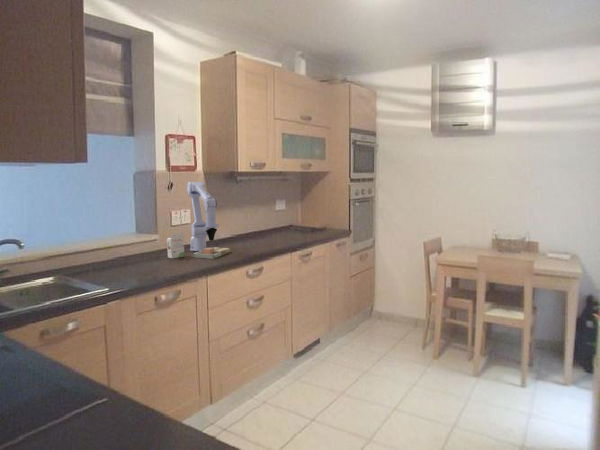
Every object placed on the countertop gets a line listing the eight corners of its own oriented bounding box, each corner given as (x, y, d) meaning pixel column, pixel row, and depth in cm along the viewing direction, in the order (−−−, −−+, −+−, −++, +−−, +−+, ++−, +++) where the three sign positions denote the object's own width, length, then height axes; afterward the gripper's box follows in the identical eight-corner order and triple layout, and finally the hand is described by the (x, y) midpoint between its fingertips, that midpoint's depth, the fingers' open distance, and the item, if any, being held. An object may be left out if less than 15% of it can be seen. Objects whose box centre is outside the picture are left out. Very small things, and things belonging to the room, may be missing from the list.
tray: (192, 257, 264) (192, 253, 263) (201, 254, 273) (201, 250, 272) (213, 258, 259) (213, 255, 259) (221, 255, 268) (221, 252, 268)
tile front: (201, 256, 264) (201, 253, 264) (205, 254, 269) (205, 251, 269) (208, 256, 263) (208, 253, 262) (213, 255, 267) (213, 252, 267)
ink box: (180, 255, 270) (179, 231, 268) (184, 256, 266) (183, 232, 264) (167, 257, 264) (166, 232, 262) (171, 258, 260) (170, 233, 258)
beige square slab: (202, 254, 273) (202, 250, 272) (212, 250, 284) (211, 247, 284) (220, 255, 269) (220, 251, 268) (230, 252, 280) (230, 248, 279)
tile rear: (202, 252, 266) (202, 249, 266) (207, 250, 271) (207, 247, 270) (210, 252, 264) (210, 249, 264) (214, 251, 269) (214, 248, 269)
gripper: (210, 220, 260) (211, 242, 262) (222, 217, 274) (223, 239, 276) (200, 219, 262) (200, 242, 264) (212, 216, 276) (213, 238, 278)
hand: (211, 240), depth 270 cm, fingers closed
